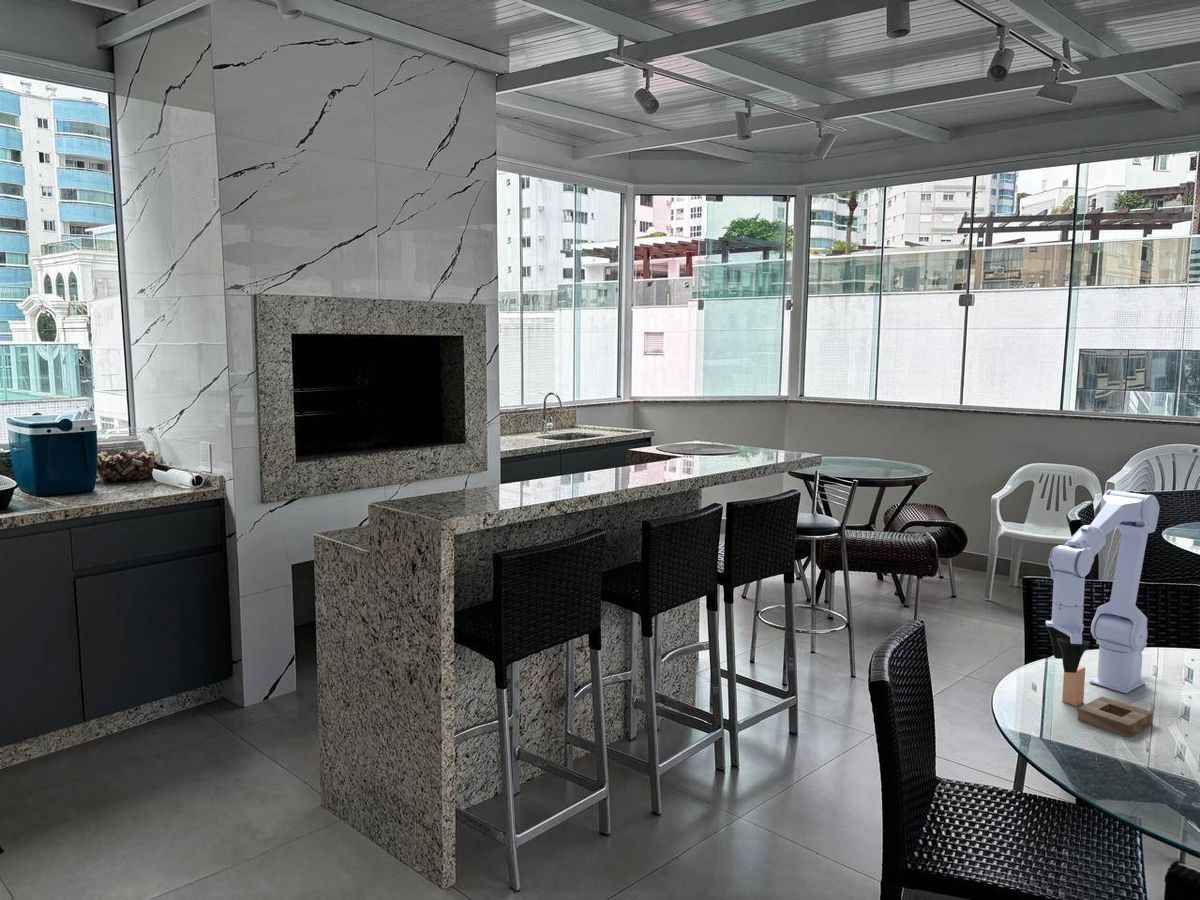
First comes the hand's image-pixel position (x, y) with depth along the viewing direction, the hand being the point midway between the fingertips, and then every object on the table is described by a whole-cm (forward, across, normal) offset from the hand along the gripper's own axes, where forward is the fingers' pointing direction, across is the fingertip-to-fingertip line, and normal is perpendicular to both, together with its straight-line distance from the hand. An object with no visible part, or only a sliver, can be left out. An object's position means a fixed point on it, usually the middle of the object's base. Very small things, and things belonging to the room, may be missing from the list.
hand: (1065, 665), depth 185 cm
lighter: (+10, -25, +20) cm, 34 cm away
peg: (+10, -4, +3) cm, 11 cm away
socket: (+10, +5, +8) cm, 14 cm away
